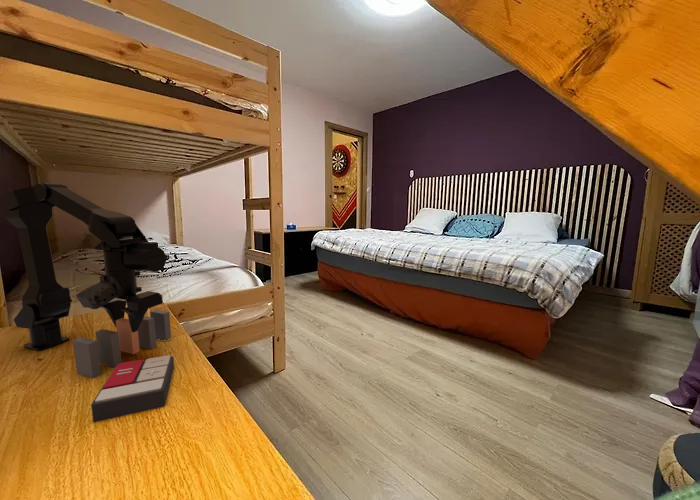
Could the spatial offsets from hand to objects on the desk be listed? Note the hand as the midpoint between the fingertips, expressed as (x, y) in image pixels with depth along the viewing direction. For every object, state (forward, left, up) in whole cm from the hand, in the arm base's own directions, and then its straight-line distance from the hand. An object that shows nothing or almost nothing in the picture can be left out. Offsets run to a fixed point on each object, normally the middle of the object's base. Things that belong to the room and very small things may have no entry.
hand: (126, 329), depth 73 cm
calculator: (+16, -9, -7) cm, 19 cm away
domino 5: (0, +9, -6) cm, 11 cm away
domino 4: (0, +5, -6) cm, 8 cm away
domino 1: (0, -9, -6) cm, 11 cm away
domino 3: (0, 0, -6) cm, 6 cm away
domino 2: (0, -4, -6) cm, 8 cm away
